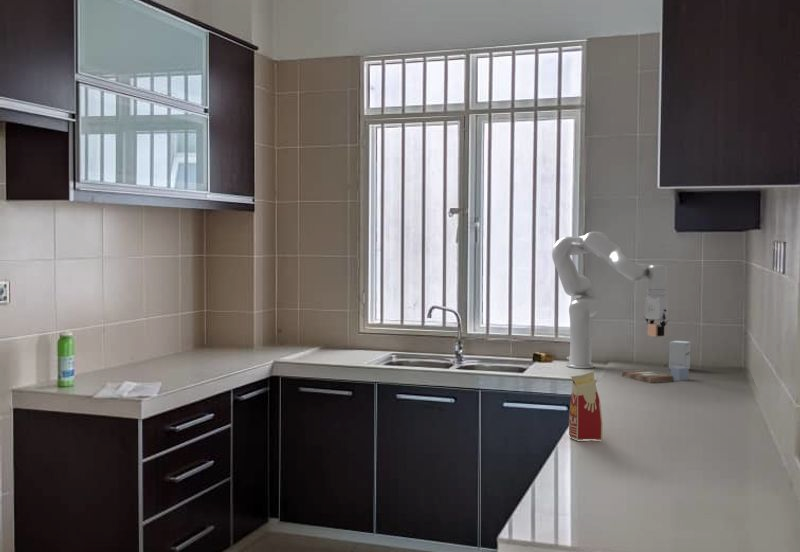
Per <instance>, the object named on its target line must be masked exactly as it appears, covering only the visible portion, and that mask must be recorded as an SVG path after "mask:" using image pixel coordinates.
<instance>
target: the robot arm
mask: <svg viewBox="0 0 800 552" xmlns="http://www.w3.org/2000/svg"><path fill="white" fill-rule="evenodd" d="M551 252H552V253H551V256H552V261H553V264H554V266H555V268H556V271H557V274H558V276H559V277H558V278H559V279H560V282H561V285H562V287H563V290H564V293H565V294H566V295H567V296H570V297H575V299H573V300H572V301H571V302H570V304H569V307H568V314H569V325H570V329H569V333H570V335H569V336H570V337H569V356H567V357H566V359H567V360H568V362H566V363H565V365H566V367H568V368H571V369H573V368H574V369H593V368H595V364H594V363H592V335H593V334H592V332H593V331H592V320H591V318H592V317H594V316H596V315H597V314H598V313H599V311H600V304H599V301H598V298H597V296H596V293H595V291H594V288H593V284H592V282H591V281H590V279H589V278H588V277H587V276H585V275H583V274H579V272H578V270H577V266H576V264H575V262H574V261H573V259H572V258H571V256H579V255H584V254H590V253H592V254H594V255H596V256H597V257H599V258H600V259H602V260H603V261H604V262H606V263H607V264H609V266H611V268H613V269H614V270H615V271H616V272H617V273H619V274H621V275H622V276H623V277H625V278H626V279H628V280H629V281H632V282H641V281H642V282H643V281H648V283H647V284H648V285H647V295H646V298H645V303H644V310H643V311H644V314H643V318H644V319H645V321H646V324H647V326H648V324H655V322H656V321H657V324H658V325H659V327H658V333H657V335H658V336H661V337H665V336H664V327H665V328H666V326H667V324H668V323H669V322H670V317H669V316H668V315H669V304H668V296H667V283H668V281H667V277H668V275H667V274H668V267H667V266H666V265H665V264H649V263H636V262H634V261H633V260H631V259H629V258H628V257H627V256H625V255H624V254H623V253H622V249H621V247H620V246H618V245H617V244H616V243H614V242H612V241H611V240H609V238H608V236H607V235H606V234H605V233H603V232H601V231H590V232H587V233H586V234H585V235H579V236H564V237H561V238H560V239H558V240H556V242H555V244H554V245H553V248H552V251H551Z"/></svg>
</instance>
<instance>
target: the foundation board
mask: <svg viewBox="0 0 800 552" xmlns="http://www.w3.org/2000/svg"><path fill="white" fill-rule="evenodd" d="M624 376H626V377H625V378H628V377H630V378H629V379H632V378H634V379H633V380H636V379H637V381H640V380H641V381H640V382H644V381H645V383H648V382H649V383H650V384H654V382H656V383H665V382H674V379H673V376H671V374H670V375H669V374H665V373H660V372H656V371H651V370H647V369H635V370H622V371H621V377H624Z"/></svg>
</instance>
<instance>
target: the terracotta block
mask: <svg viewBox="0 0 800 552" xmlns="http://www.w3.org/2000/svg"><path fill="white" fill-rule="evenodd" d="M658 327H659V325H658V323H654V324H648V325H647V336H649V337H655V338H658V337H662V336H658V335H657V333H658ZM665 335H666V326H665V327H664V336H663V337H665Z"/></svg>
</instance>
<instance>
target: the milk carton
mask: <svg viewBox="0 0 800 552" xmlns="http://www.w3.org/2000/svg"><path fill="white" fill-rule="evenodd" d="M570 378H571V380H572V389H571V395H570V402H569V415H568V416H569V417H568V435H570V437H571V438H574V439H577V440H583V439H596V440H602V441H603V425H604V423H603V416H602V415H603V414H602V407H601V405H602V404H601V400H600V399H601V398H600V396H599V392H598V388H597V385H596V380H595V370H591V371H590V372H586V373H583V374H579V375H572V376H570Z"/></svg>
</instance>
